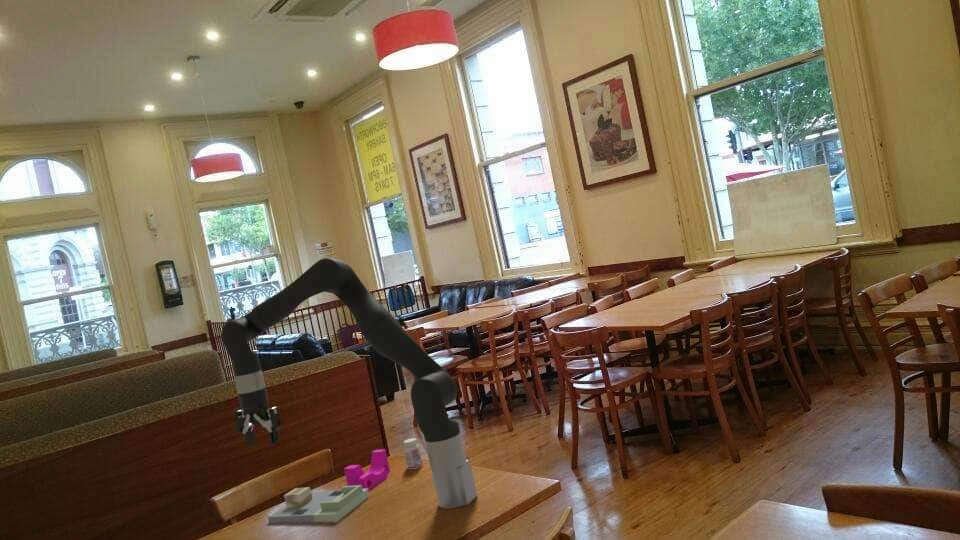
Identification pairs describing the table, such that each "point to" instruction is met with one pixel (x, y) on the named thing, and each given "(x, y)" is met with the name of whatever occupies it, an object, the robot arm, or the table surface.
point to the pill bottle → (412, 454)
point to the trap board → (323, 506)
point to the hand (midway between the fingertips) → (263, 445)
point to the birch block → (298, 497)
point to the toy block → (369, 471)
